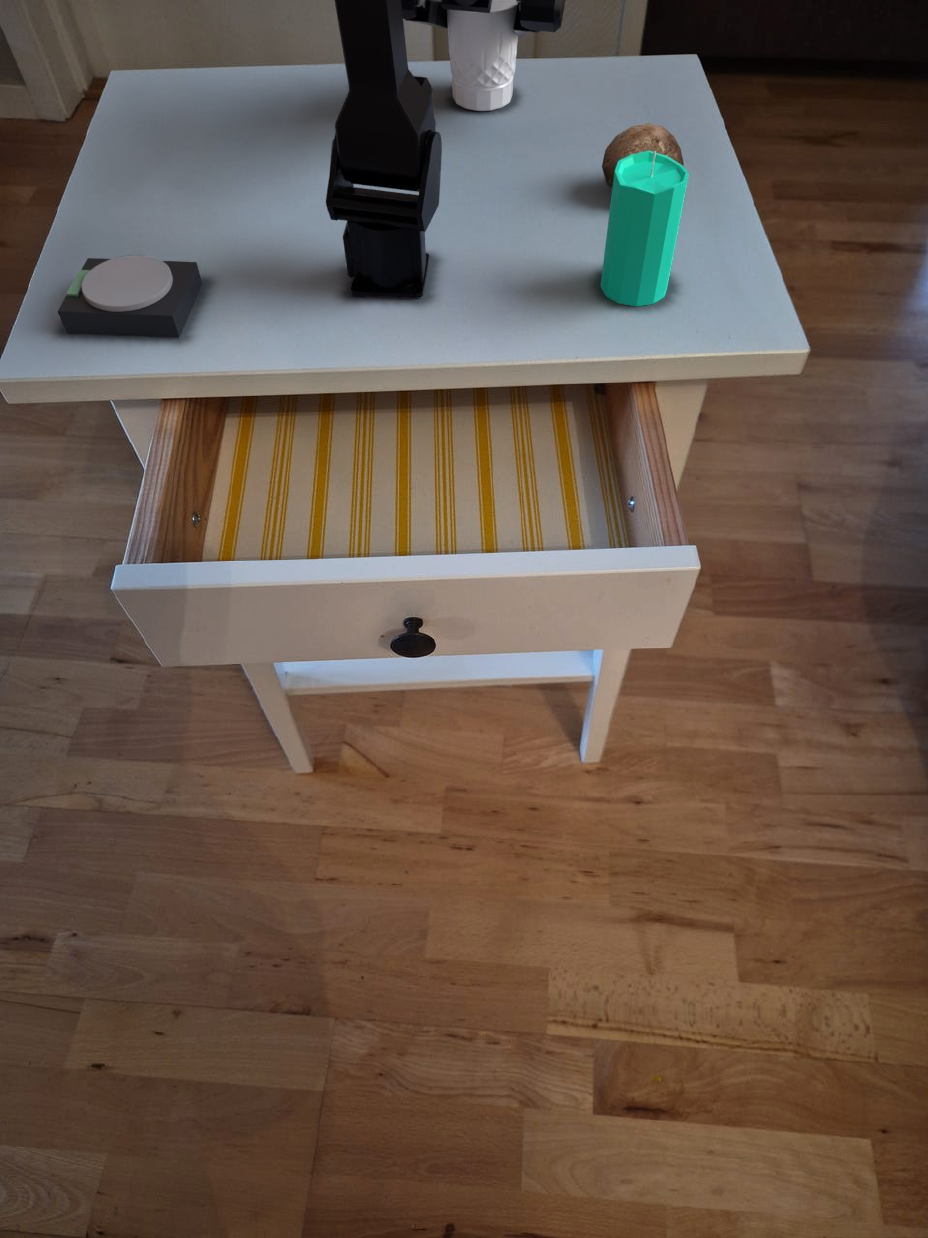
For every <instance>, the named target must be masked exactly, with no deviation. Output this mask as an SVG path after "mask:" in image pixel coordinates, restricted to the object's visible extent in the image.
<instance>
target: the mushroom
mask: <svg viewBox="0 0 928 1238" xmlns="http://www.w3.org/2000/svg"><path fill="white" fill-rule="evenodd" d="M645 151H652V152H654V151H656V153H659V154H662V155H665V156H668V157H669V158H671V159H673V160H674V161H676V162H678V163H679V164H681V165H682V166H683V167H685V162H684V157H683V153H682V148H681V147H680V145H679V143H678V141H677V140H676V137H675V136H674V134H673V133H671V132H670V131H669V130H668V129H667V128H665V126H661V125H658V124H657V125H656V124H654V123H642V124H637V125H632V126H630V127H628V128H627V129H625V130H623V131H622V132H620V133H618V134H617V135H616V136H615V137H614V138H613V139H612V140H611V142H610V143H609V144H608V146H607V147H606V148H605V150H604V154H603V158H602V163H601V169H602V172H603V177H604V180H605V183H606V184H607V186H608V187H609V189H610V190H611V191H612V189H613V180H614V172H615V169H616V166H617V163H618V161H619V160H621V159H623V158H625V157H627V156H629V155H632V154H636V153H641V152H645Z"/></svg>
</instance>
